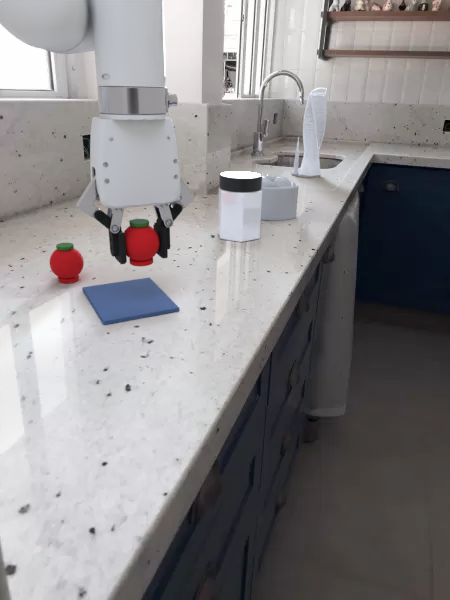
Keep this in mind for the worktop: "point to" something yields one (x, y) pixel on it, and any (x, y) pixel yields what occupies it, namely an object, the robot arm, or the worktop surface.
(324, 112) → the skyscraper
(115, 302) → the cloth
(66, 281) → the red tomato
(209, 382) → the worktop surface
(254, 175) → the jar
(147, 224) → the red round lidded pot
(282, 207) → the lumpy-topped squat cylinder
